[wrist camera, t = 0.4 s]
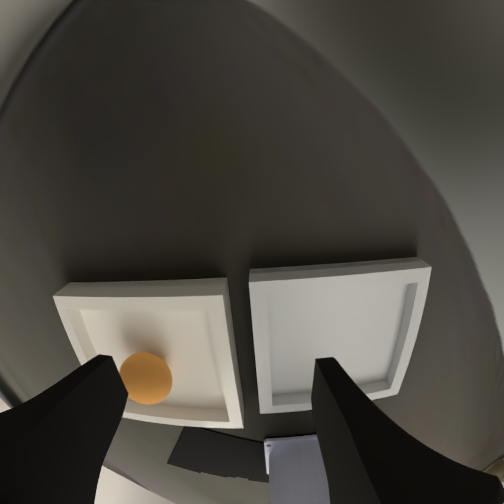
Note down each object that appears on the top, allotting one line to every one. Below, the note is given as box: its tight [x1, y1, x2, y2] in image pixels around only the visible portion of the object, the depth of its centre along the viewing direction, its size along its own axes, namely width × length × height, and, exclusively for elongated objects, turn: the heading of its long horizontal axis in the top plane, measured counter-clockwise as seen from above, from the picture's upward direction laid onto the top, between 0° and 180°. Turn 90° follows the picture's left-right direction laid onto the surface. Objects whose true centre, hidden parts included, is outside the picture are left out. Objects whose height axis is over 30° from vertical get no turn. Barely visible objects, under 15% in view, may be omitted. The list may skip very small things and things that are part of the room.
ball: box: [119, 352, 173, 405], centre depth 17 cm, size 4×4×4 cm
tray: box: [249, 257, 432, 414], centre depth 18 cm, size 12×12×2 cm
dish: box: [53, 277, 244, 428], centre depth 19 cm, size 13×13×2 cm
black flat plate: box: [168, 426, 269, 483], centre depth 27 cm, size 12×1×30 cm
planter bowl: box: [483, 459, 504, 483], centre depth 37 cm, size 16×16×11 cm
